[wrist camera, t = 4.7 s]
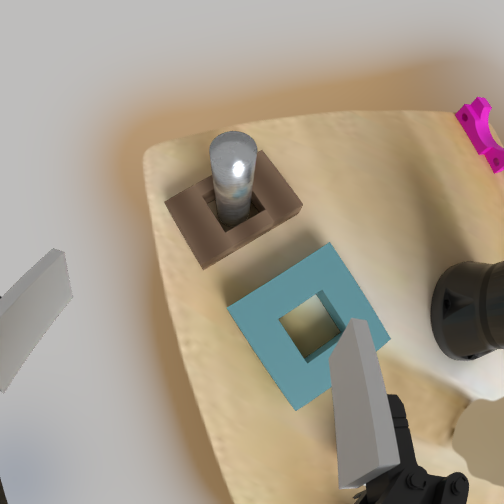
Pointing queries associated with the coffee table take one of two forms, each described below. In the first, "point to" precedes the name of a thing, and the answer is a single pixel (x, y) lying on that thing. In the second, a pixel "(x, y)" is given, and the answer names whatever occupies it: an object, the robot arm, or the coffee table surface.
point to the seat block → (289, 297)
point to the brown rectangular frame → (222, 244)
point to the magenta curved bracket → (481, 132)
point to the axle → (233, 175)
